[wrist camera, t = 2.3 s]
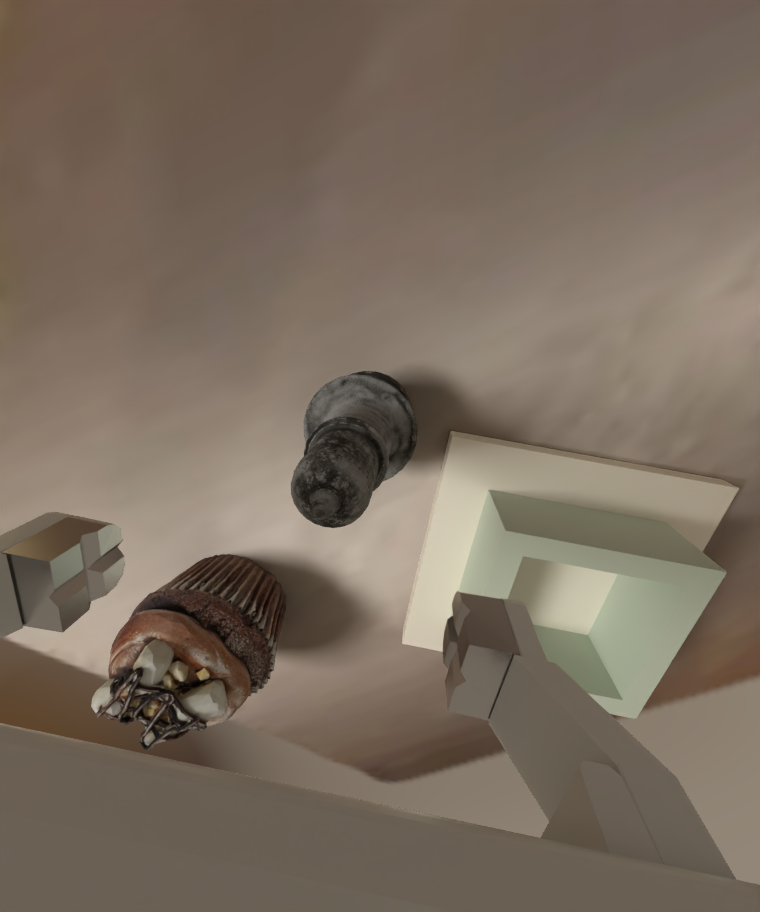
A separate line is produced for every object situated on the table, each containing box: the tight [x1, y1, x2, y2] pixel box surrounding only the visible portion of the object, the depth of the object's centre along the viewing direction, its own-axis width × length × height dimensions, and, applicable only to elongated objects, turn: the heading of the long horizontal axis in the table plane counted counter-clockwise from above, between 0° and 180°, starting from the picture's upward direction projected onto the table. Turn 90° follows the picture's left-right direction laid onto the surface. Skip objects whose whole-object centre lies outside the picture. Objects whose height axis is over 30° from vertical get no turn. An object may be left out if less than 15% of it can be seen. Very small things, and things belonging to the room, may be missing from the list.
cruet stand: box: [402, 431, 739, 719], centre depth 22 cm, size 16×16×6 cm
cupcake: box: [91, 554, 286, 750], centre depth 23 cm, size 10×10×10 cm
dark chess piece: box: [291, 371, 417, 528], centre depth 16 cm, size 6×6×12 cm
